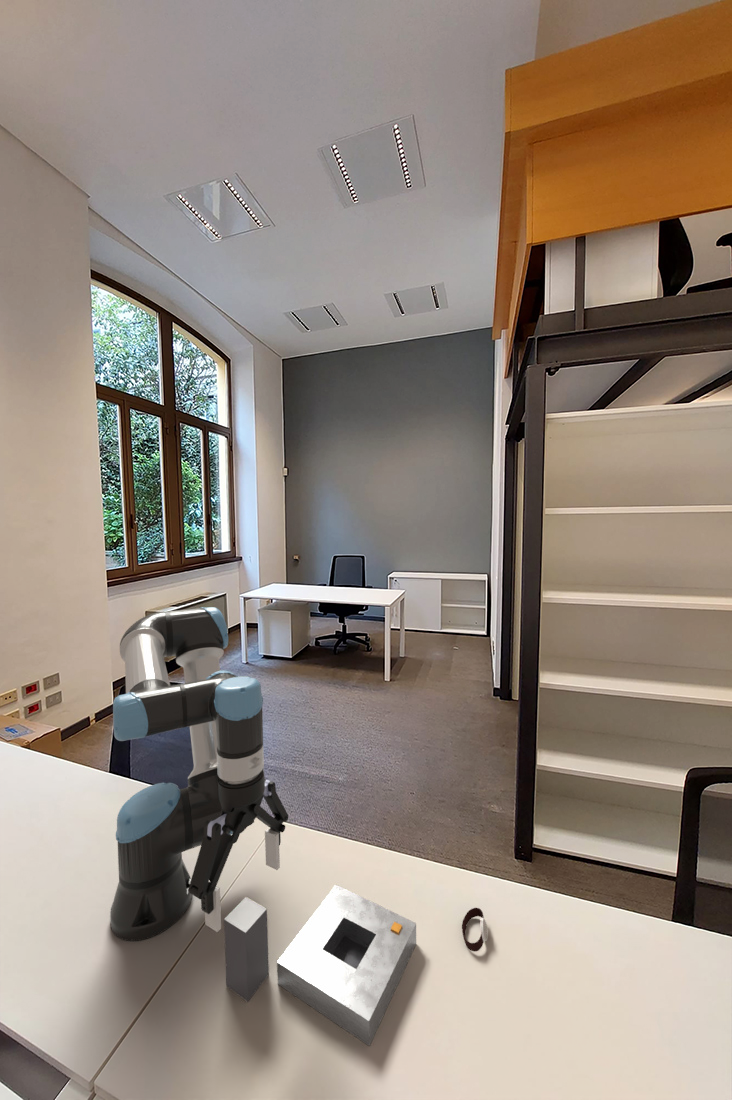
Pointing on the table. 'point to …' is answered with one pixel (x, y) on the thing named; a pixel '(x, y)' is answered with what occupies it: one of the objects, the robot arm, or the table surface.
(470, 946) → the watch
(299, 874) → the table surface
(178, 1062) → the table surface
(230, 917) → the plug
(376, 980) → the socket
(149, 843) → the robot arm
